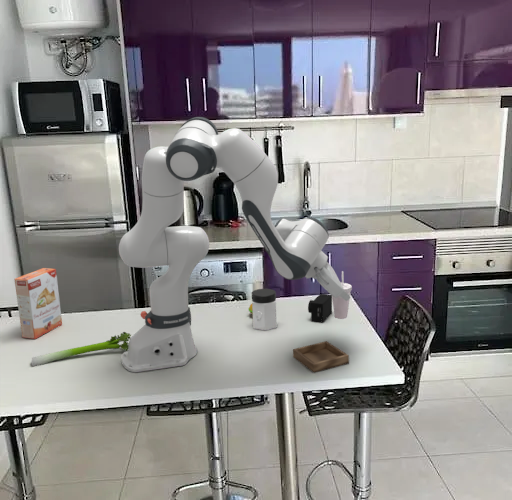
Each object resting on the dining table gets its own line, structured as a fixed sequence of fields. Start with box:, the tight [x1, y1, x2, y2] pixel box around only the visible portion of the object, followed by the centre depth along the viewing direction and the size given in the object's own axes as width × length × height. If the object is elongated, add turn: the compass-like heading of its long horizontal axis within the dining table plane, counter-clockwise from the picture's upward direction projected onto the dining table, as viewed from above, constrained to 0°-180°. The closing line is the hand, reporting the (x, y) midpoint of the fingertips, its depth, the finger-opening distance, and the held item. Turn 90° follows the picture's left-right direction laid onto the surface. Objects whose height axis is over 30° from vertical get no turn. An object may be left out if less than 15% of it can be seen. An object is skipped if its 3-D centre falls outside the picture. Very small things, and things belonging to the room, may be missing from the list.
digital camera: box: [307, 293, 333, 324], centre depth 187 cm, size 10×5×7 cm, turn 155°
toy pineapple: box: [248, 303, 253, 316], centre depth 191 cm, size 7×10×5 cm
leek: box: [31, 331, 132, 368], centre depth 162 cm, size 6×7×30 cm
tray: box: [292, 341, 350, 374], centre depth 154 cm, size 12×12×2 cm
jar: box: [251, 288, 277, 331], centre depth 180 cm, size 9×8×12 cm
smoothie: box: [332, 270, 353, 320], centre depth 158 cm, size 6×6×14 cm
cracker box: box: [13, 267, 63, 340], centre depth 182 cm, size 14×6×21 cm, turn 161°
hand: (346, 294), depth 158 cm, fingers closed on smoothie, 6 cm apart
